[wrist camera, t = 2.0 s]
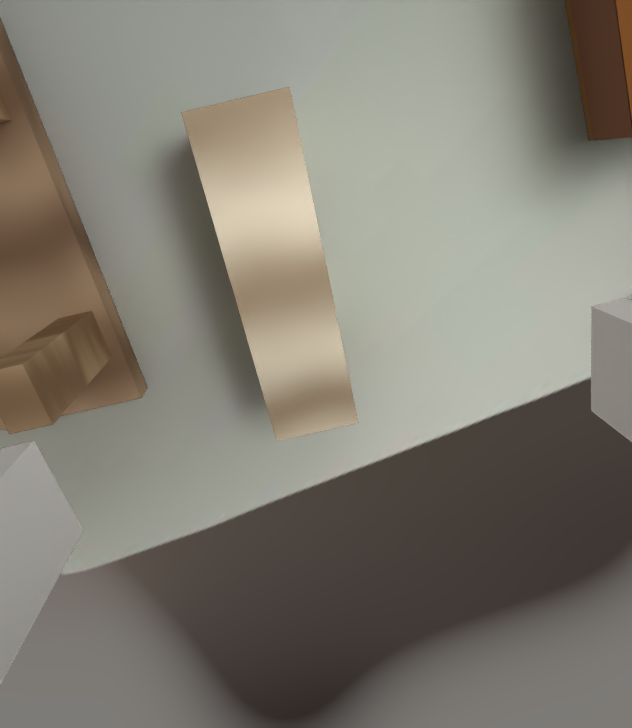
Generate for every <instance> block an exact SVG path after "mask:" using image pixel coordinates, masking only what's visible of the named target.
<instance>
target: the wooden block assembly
mask: <svg viewBox="0 0 632 728" xmlns="http://www.w3.org/2000/svg"><path fill="white" fill-rule="evenodd" d="M147 388H148V387H147V385H146V382H145V380H144V377H143V375H142V372H141V370H140V367H139V365H138V362H137V360H136V357H135V355H134V352H133V350H132V347H131V345H130V342H129V340H128V337H127V335H126V332H125V330H124V327H123V325H122V322H121V320H120V317H119V315H118V312H117V310H116V307H115V305H114V302H113V300H112V297H111V295H110V292H109V290H108V287H107V285H106V282H105V280H104V277H103V275H102V272H101V270H100V267H99V264H98V262H97V259H96V257H95V254H94V252H93V249H92V247H91V244H90V242H89V239H88V237H87V234H86V232H85V229H84V227H83V224H82V222H81V219H80V217H79V214H78V212H77V209H76V207H75V204H74V202H73V199H72V197H71V194H70V192H69V189H68V187H67V184H66V182H65V179H64V177H63V174H62V172H61V169H60V167H59V164H58V162H57V159H56V157H55V154H54V152H53V149H52V146H51V144H50V141H49V139H48V136H47V134H46V131H45V129H44V126H43V124H42V121H41V119H40V116H39V114H38V111H37V109H36V106H35V104H34V101H33V99H32V96H31V94H30V91H29V89H28V86H27V84H26V81H25V79H24V76H23V74H22V71H21V69H20V66H19V64H18V61H17V59H16V56H15V54H14V51H13V49H12V46H11V44H10V41H9V39H8V36H7V34H6V31H5V29H4V26H3V23H2V21H1V18H0V430H2V429H7V431H8V432H9V434H12V433H17V432H21V431H26V430H30V429H35V428H39V427H44V426H48V425H52V424H54V422H55V421H56V420H57V419H58V418H59V417H60V416H64V415H68V414H73V413H77V412H81V411H86V410H90V409H95V408H99V407H104V406H108V405H113V404H117V403H121V402H126V401H130V400H135V399H139V398H142V396H143V394H144V393H145V391H146V389H147Z"/></svg>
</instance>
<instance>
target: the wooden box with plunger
mask: <svg viewBox="0 0 632 728" xmlns="http://www.w3.org/2000/svg"><path fill="white" fill-rule="evenodd" d="M565 5H566V11H567V17H568V23H569V28H570V34H571V40H572V46H573V52H574V57H575V63H576V69H577V75H578V80H579V86H580V92H581V98H582V103H583V109H584V115H585V121H586V127H587V132H588V138H589V141H591V140H604V139H616V138H628V137H632V0H565Z"/></svg>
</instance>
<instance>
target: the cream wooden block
mask: <svg viewBox="0 0 632 728" xmlns="http://www.w3.org/2000/svg"><path fill="white" fill-rule="evenodd" d="M181 114H182V117H183V120H184V124H185V127H186V131H187V134H188V138H189V141H190V145H191V148H192V151H193V155H194V158H195V162H196V165H197V169H198V172H199V175H200V179H201V182H202V186H203V189H204V193H205V196H206V200H207V203H208V206H209V210H210V213H211V217H212V220H213V224H214V227H215V231H216V234H217V237H218V241H219V244H220V248H221V251H222V255H223V258H224V261H225V265H226V268H227V272H228V275H229V279H230V282H231V286H232V289H233V292H234V296H235V299H236V303H237V306H238V310H239V313H240V317H241V320H242V323H243V327H244V330H245V334H246V337H247V341H248V344H249V347H250V351H251V354H252V358H253V361H254V365H255V368H256V372H257V375H258V378H259V382H260V385H261V389H262V392H263V396H264V399H265V403H266V406H267V409H268V413H269V416H270V420H271V423H272V427H273V430H274V433H275V437H276V440H277V441H280V440H284V439H289V438H293V437H298V436H302V435H307V434H311V433H316V432H320V431H325V430H329V429H334V428H338V427H343V426H347V425H352V424H356V423H358V419H357V414H356V409H355V404H354V399H353V394H352V389H351V384H350V379H349V375H348V370H347V365H346V360H345V355H344V350H343V345H342V340H341V335H340V331H339V326H338V321H337V316H336V311H335V306H334V301H333V296H332V291H331V287H330V282H329V277H328V272H327V267H326V262H325V257H324V252H323V248H322V243H321V238H320V233H319V228H318V223H317V218H316V213H315V208H314V204H313V199H312V194H311V189H310V184H309V179H308V174H307V169H306V164H305V160H304V155H303V150H302V145H301V140H300V135H299V130H298V125H297V121H296V116H295V111H294V106H293V101H292V96H291V91H290V87H286V88H282V89H278V90H274V91H270V92H265V93H261V94H257V95H253V96H248V97H244V98H240V99H236V100H231V101H227V102H223V103H219V104H214V105H210V106H206V107H202V108H197V109H193V110H189V111H185V112H181Z"/></svg>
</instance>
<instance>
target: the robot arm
mask: <svg viewBox="0 0 632 728" xmlns="http://www.w3.org/2000/svg"><path fill="white" fill-rule="evenodd" d="M591 411H592V412H594V413H595V414H596V415H597V416H599V417H600V418H601V419H603V420H604V421H605V422H607V423H608V424H609V425H610V426H612V427H613V428H614V429H616V430H617V431H618V432H619V433H621V434H622V435H624V436H625V437H626V438H627V439H628V440H630V441H631V442H632V301H631V300H629V299H626V298H624V299H620V300H615V301H611V302H607V303H603V304H599V305H595V306H592V334H591ZM82 533H83V529H82V527H81V525H80V523H79V521H78V520H77V518H76V516H75V514H74V512H73V511H72V509H71V507H70V505H69V503H68V502H67V500H66V498H65V496H64V494H63V492H62V491H61V489H60V487H59V485H58V483H57V482H56V480H55V478H54V476H53V474H52V473H51V471H50V469H49V467H48V465H47V463H46V462H45V460H44V458H43V456H42V454H41V453H40V451H39V449H38V447H37V445H36V444H35V442H34V441H30V442H26V443H22V444H18V445H14V446H10V447H6V448H2V449H1V450H0V685H1V683H2V681H3V679H4V677H5V675H6V673H7V672H8V670H9V668H10V666H11V664H12V662H13V661H14V659H15V657H16V655H17V653H18V651H19V649H20V648H21V646H22V644H23V642H24V640H25V638H26V636H27V635H28V633H29V631H30V629H31V627H32V625H33V623H34V621H35V620H36V618H37V616H38V614H39V612H40V610H41V609H42V607H43V605H44V603H45V601H46V599H47V597H48V596H49V594H50V592H51V590H52V588H53V586H54V584H55V582H56V581H57V579H58V577H59V575H60V573H61V572H62V570H63V568H64V566H65V564H66V562H67V560H68V559H69V557H70V555H71V553H72V551H73V549H74V547H75V546H76V544H77V542H78V540H79V538H80V536H81V534H82Z"/></svg>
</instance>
